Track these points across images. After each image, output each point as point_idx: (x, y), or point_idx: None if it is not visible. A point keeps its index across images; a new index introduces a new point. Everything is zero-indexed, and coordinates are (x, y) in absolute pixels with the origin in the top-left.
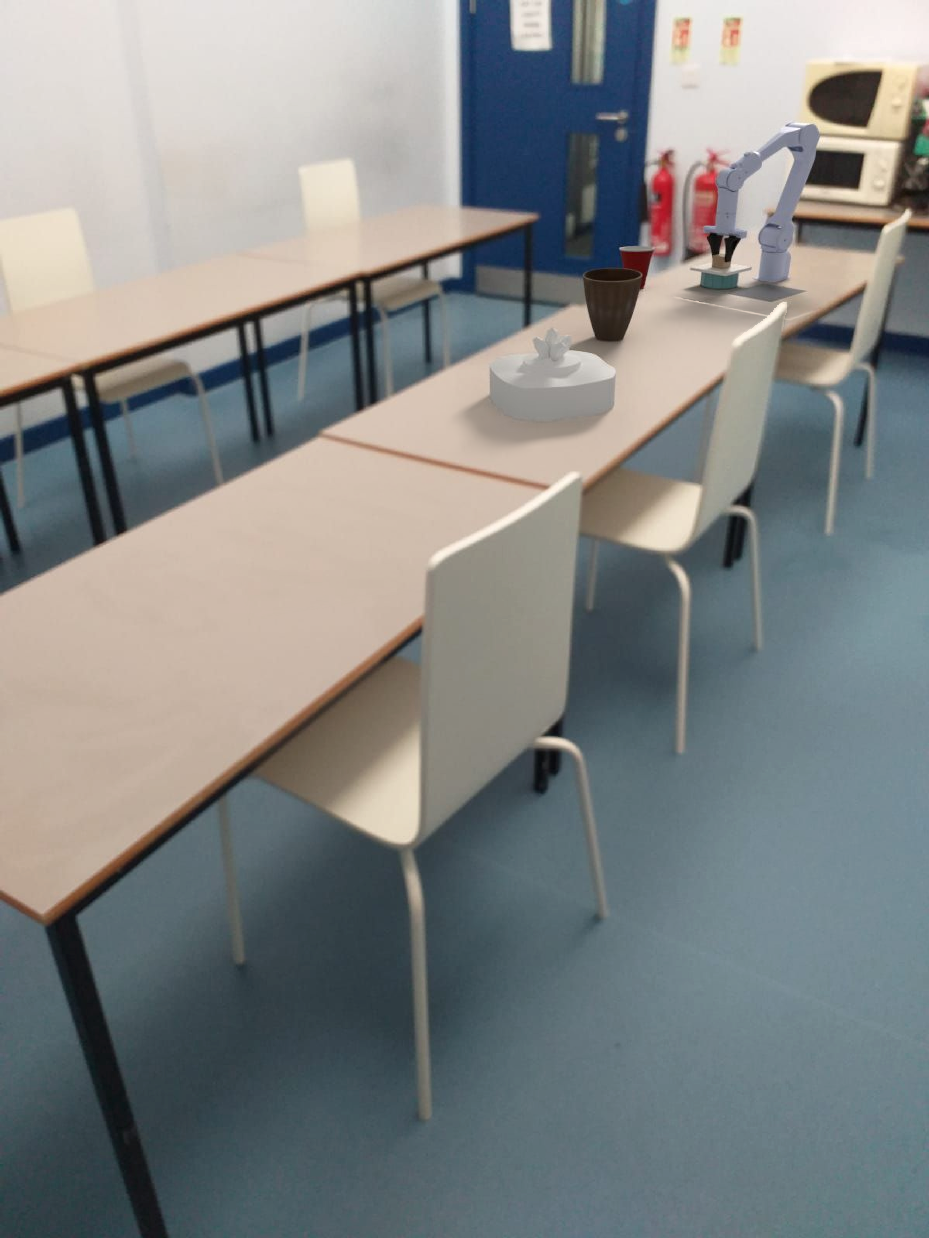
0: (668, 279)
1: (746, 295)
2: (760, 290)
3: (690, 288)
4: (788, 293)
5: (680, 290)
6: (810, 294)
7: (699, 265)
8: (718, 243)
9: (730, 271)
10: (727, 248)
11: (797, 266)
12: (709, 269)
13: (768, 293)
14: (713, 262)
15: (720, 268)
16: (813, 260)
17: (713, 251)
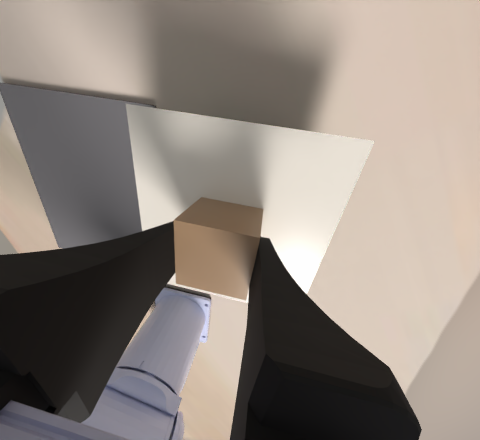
0: (454, 224)
1: (97, 119)
2: (118, 203)
3: (321, 132)
4: (57, 207)
5: (351, 67)
6: (48, 236)
7: (337, 218)
8: (247, 347)
9: (143, 167)
10: (106, 247)
11: (207, 392)
12: (245, 149)
13: (81, 181)
14: (253, 217)
15: (211, 199)
16: (210, 417)
17: (261, 259)
